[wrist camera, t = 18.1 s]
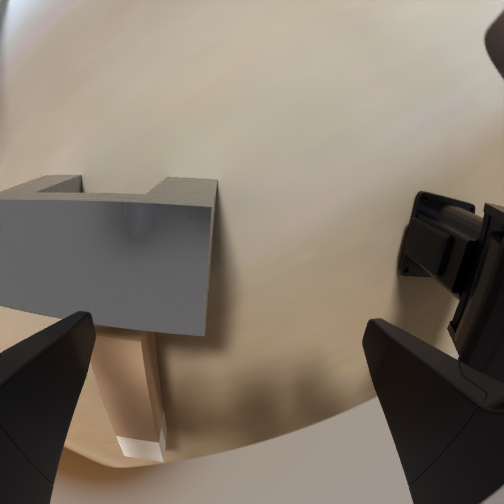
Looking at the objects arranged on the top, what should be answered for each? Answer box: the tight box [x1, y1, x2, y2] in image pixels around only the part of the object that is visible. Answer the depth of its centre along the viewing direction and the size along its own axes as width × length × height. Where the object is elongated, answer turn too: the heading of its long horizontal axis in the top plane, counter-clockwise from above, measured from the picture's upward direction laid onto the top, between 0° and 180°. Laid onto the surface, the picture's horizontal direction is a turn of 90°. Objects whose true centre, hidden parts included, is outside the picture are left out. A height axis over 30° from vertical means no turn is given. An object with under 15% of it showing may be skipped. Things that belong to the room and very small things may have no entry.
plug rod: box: [90, 324, 167, 462], centre depth 22 cm, size 4×16×4 cm, turn 174°
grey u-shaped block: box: [0, 175, 217, 336], centre depth 15 cm, size 12×6×7 cm, turn 84°
